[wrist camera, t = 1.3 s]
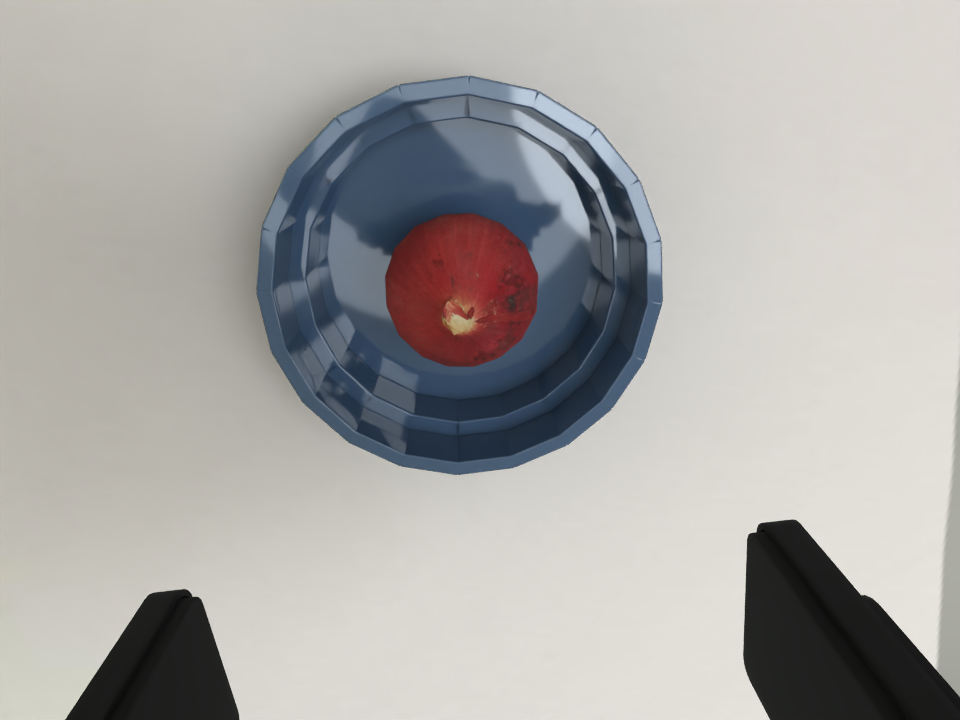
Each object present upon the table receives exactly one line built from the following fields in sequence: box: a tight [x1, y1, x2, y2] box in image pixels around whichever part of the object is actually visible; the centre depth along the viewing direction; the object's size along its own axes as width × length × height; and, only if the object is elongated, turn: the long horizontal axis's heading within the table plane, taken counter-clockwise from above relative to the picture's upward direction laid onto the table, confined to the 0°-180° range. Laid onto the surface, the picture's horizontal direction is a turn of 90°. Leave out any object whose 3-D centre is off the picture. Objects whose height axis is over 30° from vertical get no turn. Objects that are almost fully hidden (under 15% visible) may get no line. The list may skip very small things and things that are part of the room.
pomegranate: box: [385, 213, 538, 367], centre depth 24 cm, size 6×6×8 cm
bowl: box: [256, 76, 663, 475], centre depth 26 cm, size 15×15×5 cm
